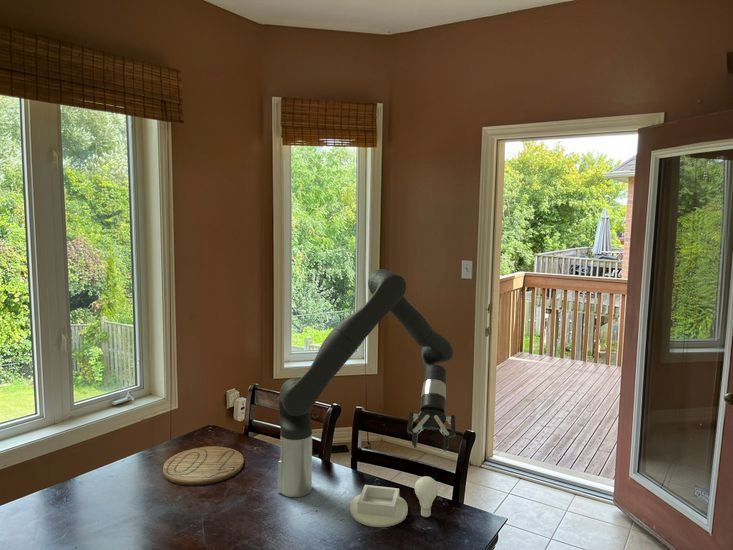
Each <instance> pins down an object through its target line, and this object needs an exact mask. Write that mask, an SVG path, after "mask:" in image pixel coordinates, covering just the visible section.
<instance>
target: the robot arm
mask: <svg viewBox="0 0 733 550" xmlns="http://www.w3.org/2000/svg"><path fill="white" fill-rule="evenodd" d="M403 277H404V276H403ZM403 277H402V276H401V275H400V274H398V273H396V272H393V271H390V270H389V269H384V268H383V269H381V268H380V269H376V270H375V271H374V272H371V274H370V276H369V278H368V279H367V285H368V286H367V287H368V290H369V292H370V294H371V297H370V298H369V299H368V301H366V303H365V304H364V305H363V306H362V307H360V308H359V309H358V310H356V311H355V312H353V313H351V314H349V315H347V316H346V317H345V318H343V319H342V320H340V321H339V322H338V323H337V324H336V325H335V326H334V327H333V329H332V330H331V331H330V332H329V334H328V335H327V336H326V337H325V339H324V340H323V342H322V344H321V346H319V349H318V351H317V354H316V356H315V358H314V360H313V362H312V363H311V365H310V367H309V368H308V369H307V371H306V372H304V374H303V375H302V376H301V377H299V378H298V377H292V378H289V379H287V380H285V381H284V382H283V384H281V385H282V386H281V387H280V390H279V395H278V396H279V399H278V405H279V406H278V407H279V408H278V409H279V426H280V430H279V431H280V459H278V462H277V493H278V494H282V495H283V496H286V497H289V498H302V497H304V496H307V495H308V494H310V493H311V492H312V489H313V488H312V486H313V485H312V484H313V481H312V480H313V472H312V471H313V424H312V419H311V409H312V408H313V407H314V405H315V404H316V402H317V401H318V399H319V398H320V396H321V394H322V393H323V392H324V391H325V389H326V387H327V386H328V385H329V383H330V382H331V380H332V379H333V378H334V377H335V376H336V375H337V373H338V372H339V371H340V370H341V369H342V367H343V366H344V365H345V364H346V363H347V361H349V359H350V358H351V357H352V356H353V355H354V353H355V352H356V351H357V350H358V348H359V347H361V344H363V342H364V341H365V340H366V338H367V337H368V336H369V335H370V334H371V332H372V331H373V330H374V329H375V328H376V327H377V326H378V324H379V322H380V321H382V320H383V318H385V316H387V314H388V313H389V312H391V314H393V316H394V317H395V318H396V319H397V320H398V322H399V323H400V324H401V326H402V327H403V328H404V329H405V331H406V332H407V333H408V335H409V336H410V338H412V340H413V341H414V343H415V344H417V345H418V346H419V347H421V350H420V358H421V361H422V362H421V363H422V367H423V373H424V374H423V382H422V383H423V384H422V389H421V395H420V397H421V398H420V408H419V412H418V413H414V412H413V411H410V412H409V414H408V420H407V426H406V431H407V432H406V433H408V434H411V435H412V437H411V444H412V445H411V446H413V448H414V449H417V448H418V435H419V434H420V433H421V432H422V431H424V430H428V431H429V430H432V431H439V432H440V433H441V434H442V436H443V448H442V450H443V451H444V452H446V451H447V450H448V449H449V447H450V446H449V442H450V441H449V440H450V439H451V438H455V437H456V416H455V415H453V414H452V415H451V416H450V415H449V416H448V415H446V400H447V388H446V387H447V386H446V385H447V384H446V383H447V370H446V369H445V367H443V366H442V365H438V364H440V363H441V364H442V363H445V362H448V361H451V360H452V358H453V356H454V349H453V346H452V344H451V342H449V341H448V340H447V338H445V337H444V336H443V335H441V334H440V333H439V332H437V331H436V330H434V329H433V328H432V326H431V325H430V324H429V322H428V320H426V318H425V317H424V316H423V314H422V313H420V312H419V310H417V308H415V307H414V306H413V305H412V304H411V303H410V302H409V301H408V300H407V299H406V297H405V296H404V295H405V293H406V290H407V282H406V280H405V279H404V278H403ZM417 419H418V421H419V422H418V423H417V424H416V426H415V427H414V428H413V426H414V425H413V424H414V422H415V421H416V420H417ZM446 422H447V423H448V424H449V425H450V427H451V428H450V431H448V429H447V428H446V425H444V424H445V423H446Z"/></svg>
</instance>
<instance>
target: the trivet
mask: <svg viewBox="0 0 733 550" xmlns="http://www.w3.org/2000/svg"><path fill="white" fill-rule="evenodd" d="M244 463H245V462H244V457H243V454H242V453H241V452H239V450H236V449H233V448H229V447H225V446H202V447H195V448H194V447H193V448H190V449H186V450H183V451H181V452H178V453H176V454H175V455H173V456H171V457H169V458H168V459H167V460H166V461H165V462H164V464H163V465H162V467H163V468H162V473H163V477H164V478H165V479H166V480H168V481H169V482H171V483H173V484H175V485H176V484H177V485H181V486H205V485H210V484H216V483H220V482H222V481H225V479H226V480H228V479H230V478H232V477H234V476H235V475H237V474H238V473H240V471H241V470H242V467H244Z"/></svg>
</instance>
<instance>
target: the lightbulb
mask: <svg viewBox="0 0 733 550" xmlns="http://www.w3.org/2000/svg"><path fill="white" fill-rule="evenodd" d="M414 493H415V495H416V497H417V499H418V500H419V505H420V515H421V516H422V517H424V518H429V517H430V516H431V515H432V514H431V513H432V511H431V509H432V505H433V502H434V501H435V499H436V497H437V496H438V493H439V486H438V483H437V482H436V480H435V479H434V478H432V477H431V476H426V475H425V476H420V477H419V478H418V479H417V480H416V482H415V483H414Z"/></svg>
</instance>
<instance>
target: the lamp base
mask: <svg viewBox="0 0 733 550" xmlns="http://www.w3.org/2000/svg"><path fill="white" fill-rule="evenodd" d="M408 509H409V508H408V503H407V501H406V500H405V499H404V498H403V497H401V496H400V488H395V487H388V486H378V485H371V484H369V485H368V484H364V486H363V488H362V490H361V493H360V494H358V495H356V496H355V497H353V498H352V500H351V501H350V504H349V514H350V517H352V519H353V520H355V521H356V522H358V523H359V524H362V525H364V526H368V527H372V528H373V527H374V528H386V527H392V526H395V525H398V524H400V523H402V522H403V521H404V520H406V518H407V517H408V513H409V512H408ZM406 516H407V517H406Z"/></svg>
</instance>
